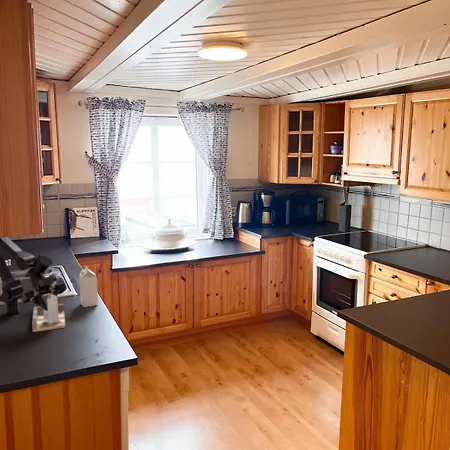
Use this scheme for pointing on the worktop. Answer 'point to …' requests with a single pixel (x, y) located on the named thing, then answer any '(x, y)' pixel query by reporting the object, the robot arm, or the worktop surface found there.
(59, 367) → the worktop surface
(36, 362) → the worktop surface
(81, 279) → the milk carton
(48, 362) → the worktop surface
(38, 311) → the corner arena
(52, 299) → the aluminium post
